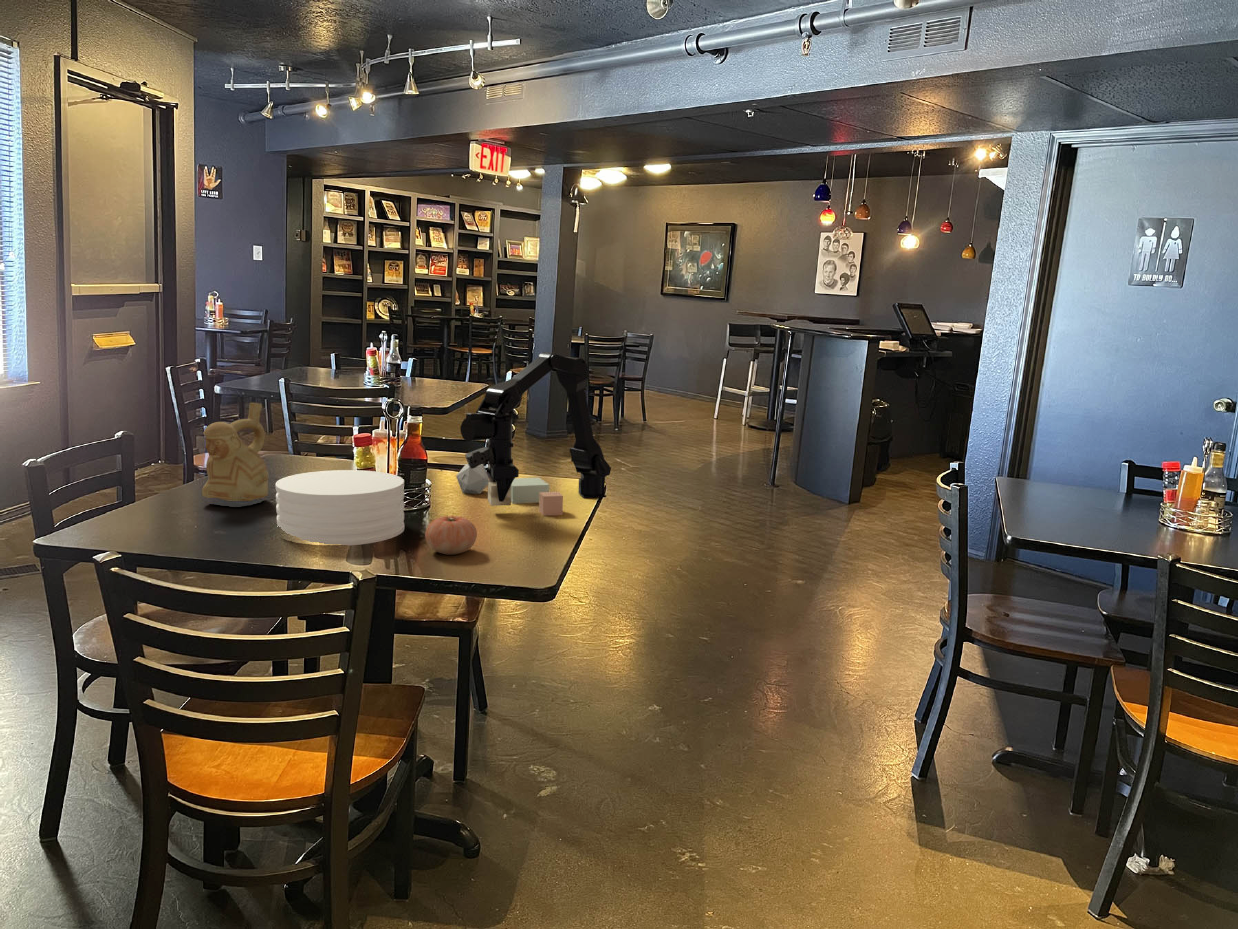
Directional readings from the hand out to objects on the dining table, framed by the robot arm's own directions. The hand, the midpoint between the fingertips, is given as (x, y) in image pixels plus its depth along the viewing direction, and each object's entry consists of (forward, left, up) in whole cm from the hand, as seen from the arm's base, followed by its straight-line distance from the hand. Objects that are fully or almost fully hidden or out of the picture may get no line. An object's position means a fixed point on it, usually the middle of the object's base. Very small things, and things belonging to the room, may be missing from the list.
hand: (499, 499), depth 231 cm
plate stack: (+38, +10, -4) cm, 40 cm away
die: (+3, -26, -4) cm, 26 cm away
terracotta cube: (-13, +1, -4) cm, 14 cm away
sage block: (-10, -16, -4) cm, 19 cm away
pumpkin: (+16, +33, -4) cm, 37 cm away
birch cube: (0, 0, -1) cm, 1 cm away
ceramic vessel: (+63, -21, -4) cm, 66 cm away
